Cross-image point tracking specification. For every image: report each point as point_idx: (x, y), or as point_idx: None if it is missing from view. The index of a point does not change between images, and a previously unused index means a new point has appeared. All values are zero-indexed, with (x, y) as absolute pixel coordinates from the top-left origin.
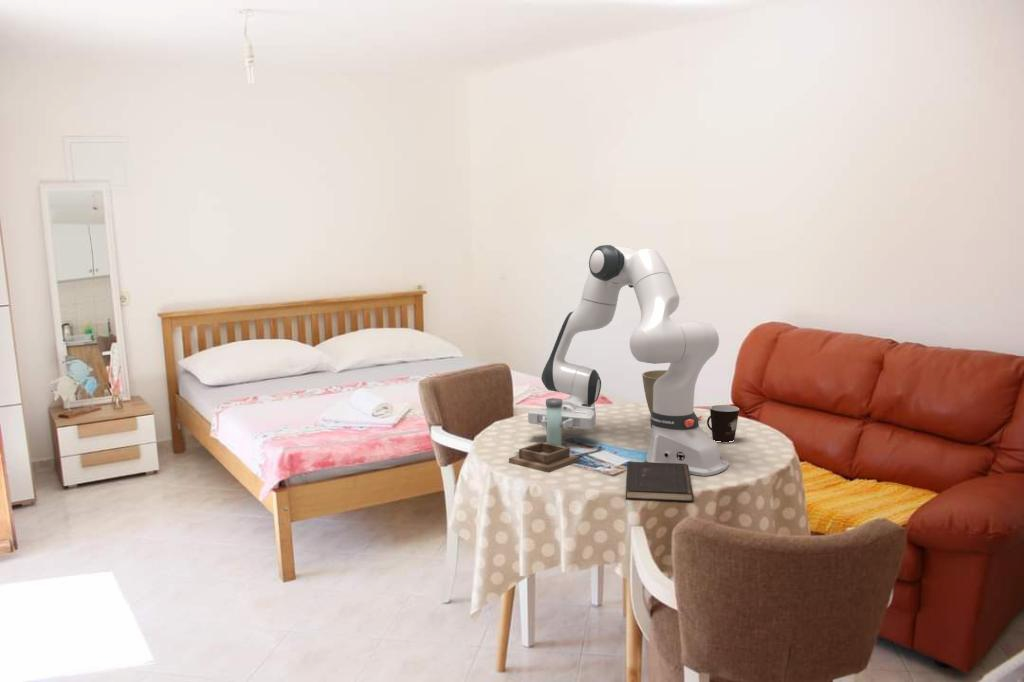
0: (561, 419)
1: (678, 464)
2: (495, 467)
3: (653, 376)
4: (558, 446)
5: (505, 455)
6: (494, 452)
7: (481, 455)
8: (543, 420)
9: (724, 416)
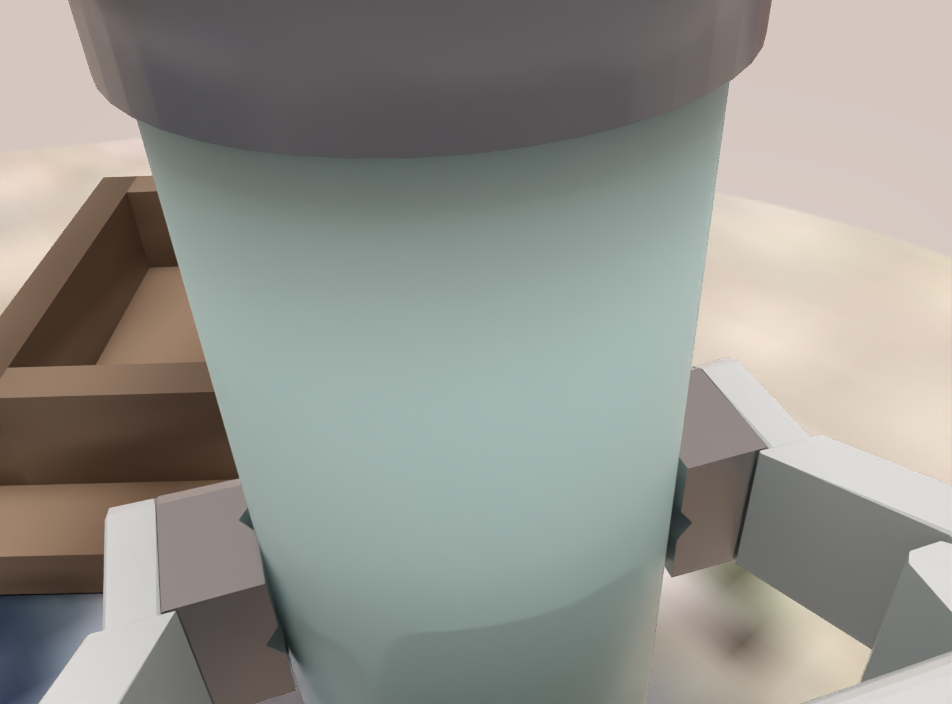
0: (253, 516)
1: None
2: None
3: None
4: (114, 374)
5: (704, 316)
6: (863, 316)
7: (839, 233)
8: (695, 369)
9: None
